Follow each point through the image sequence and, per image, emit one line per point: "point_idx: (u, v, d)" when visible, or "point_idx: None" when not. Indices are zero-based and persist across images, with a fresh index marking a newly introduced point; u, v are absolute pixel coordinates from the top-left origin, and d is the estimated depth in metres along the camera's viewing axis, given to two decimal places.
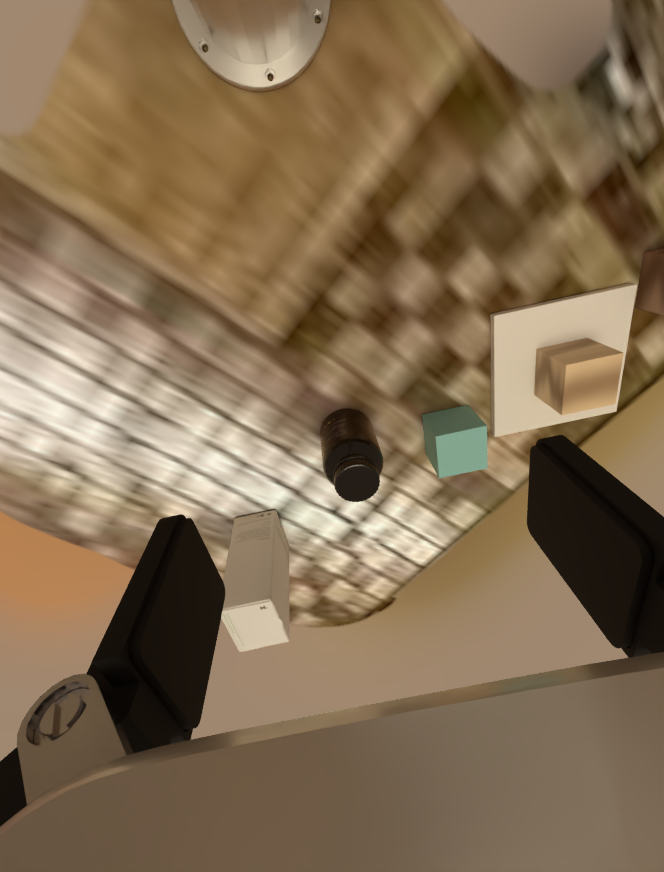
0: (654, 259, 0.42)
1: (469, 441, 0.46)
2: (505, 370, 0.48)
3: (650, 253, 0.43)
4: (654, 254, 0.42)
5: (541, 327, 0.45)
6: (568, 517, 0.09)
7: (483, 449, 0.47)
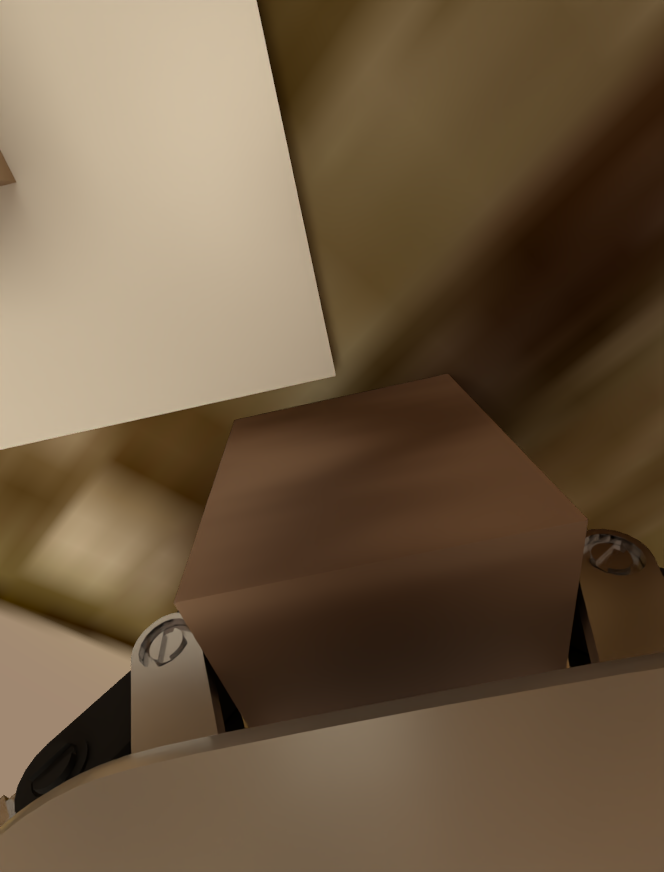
0: (445, 403, 0.09)
1: None
2: None
3: (457, 389, 0.10)
4: (465, 397, 0.09)
5: None
6: None
7: None
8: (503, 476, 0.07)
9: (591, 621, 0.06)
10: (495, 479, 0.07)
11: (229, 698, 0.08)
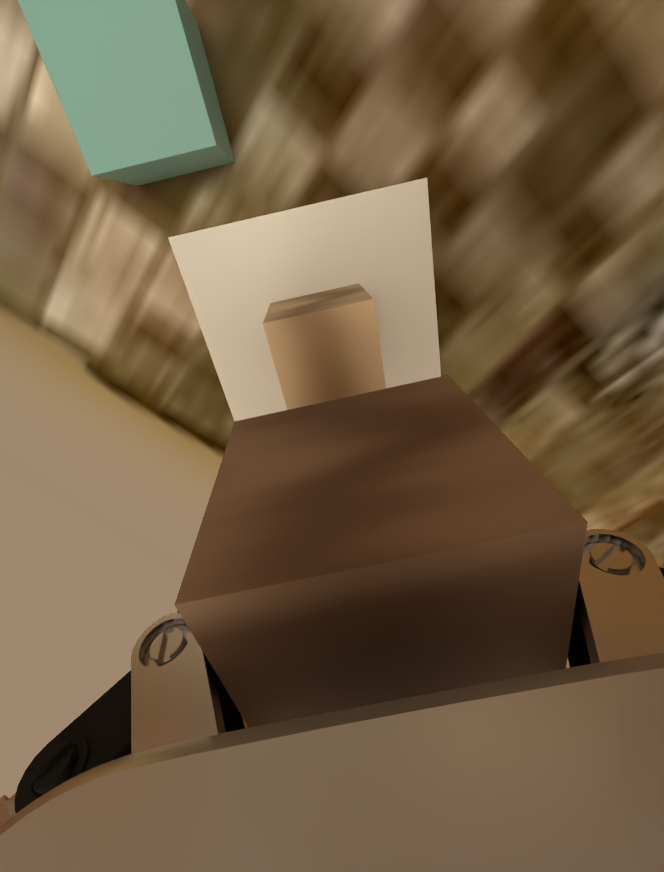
0: (445, 405, 0.09)
1: (162, 96, 0.17)
2: (318, 228, 0.24)
3: (457, 390, 0.10)
4: (465, 398, 0.09)
5: (396, 282, 0.26)
6: None
7: (145, 149, 0.18)
8: (503, 478, 0.07)
9: (591, 621, 0.06)
10: (495, 481, 0.07)
11: (229, 698, 0.08)
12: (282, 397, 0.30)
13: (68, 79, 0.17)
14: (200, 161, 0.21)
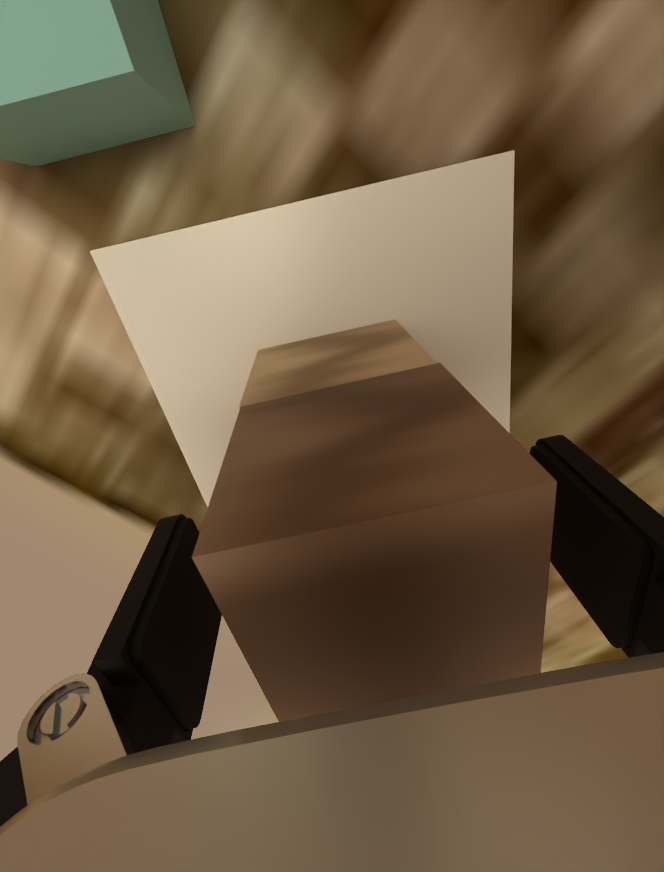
0: (437, 388, 0.10)
1: None
2: (334, 235, 0.15)
3: None
4: (455, 382, 0.10)
5: (452, 317, 0.17)
6: (568, 517, 0.09)
7: None
8: (485, 448, 0.07)
9: None
10: (478, 451, 0.07)
11: None
12: None
13: None
14: (125, 117, 0.12)
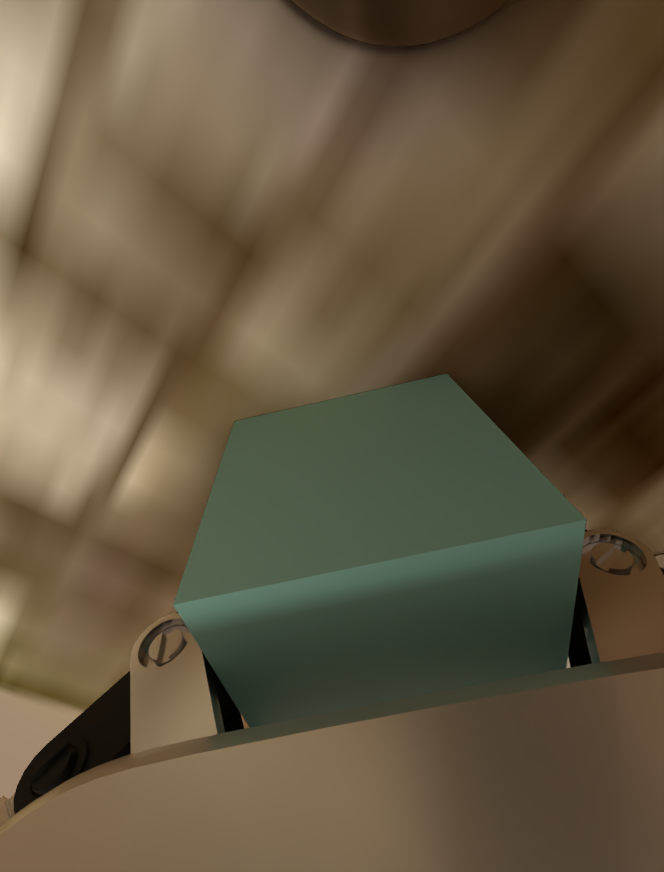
0: None
1: None
2: None
3: None
4: None
5: None
6: None
7: None
8: None
9: (592, 621, 0.06)
10: None
11: (228, 698, 0.08)
12: None
13: (271, 693, 0.07)
14: None
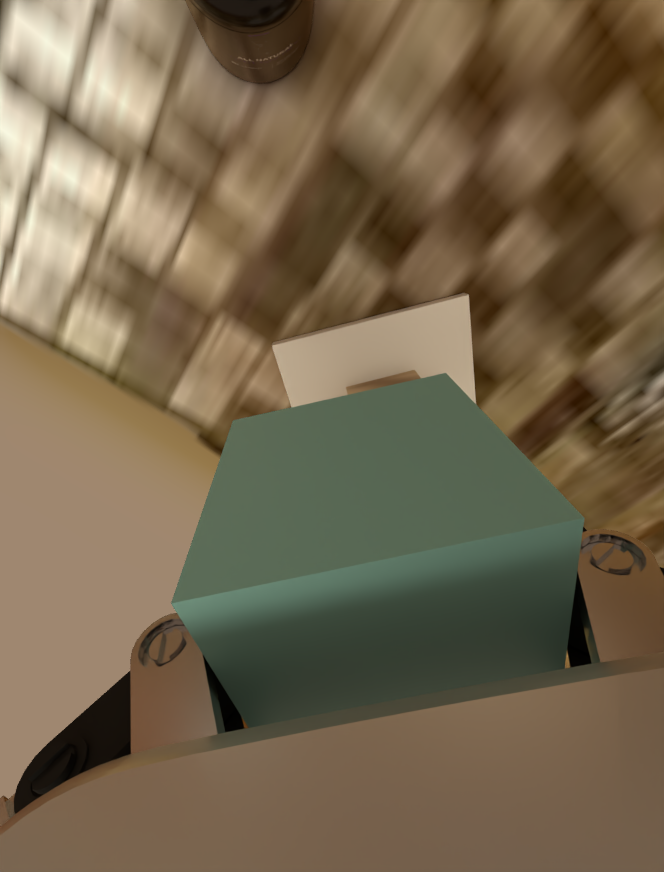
0: None
1: None
2: (385, 333, 0.32)
3: None
4: None
5: (443, 367, 0.34)
6: None
7: None
8: None
9: (591, 621, 0.06)
10: None
11: (228, 698, 0.08)
12: None
13: (269, 692, 0.07)
14: None
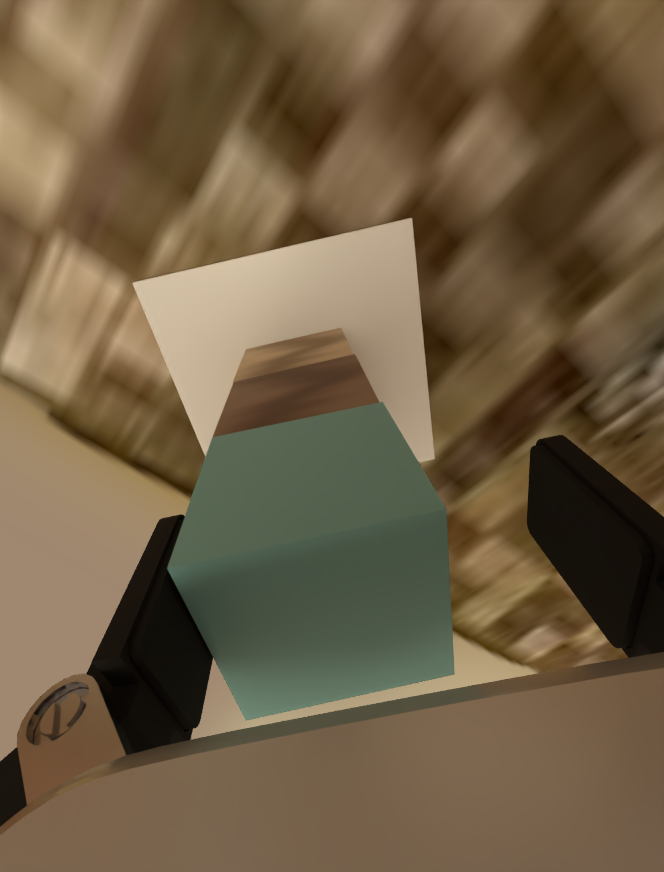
0: (347, 367, 0.17)
1: (387, 641, 0.10)
2: (296, 271, 0.23)
3: (356, 361, 0.18)
4: (357, 364, 0.18)
5: (381, 326, 0.24)
6: (568, 517, 0.09)
7: (342, 689, 0.11)
8: (356, 392, 0.15)
9: None
10: (353, 393, 0.15)
11: None
12: None
13: (236, 640, 0.10)
14: None
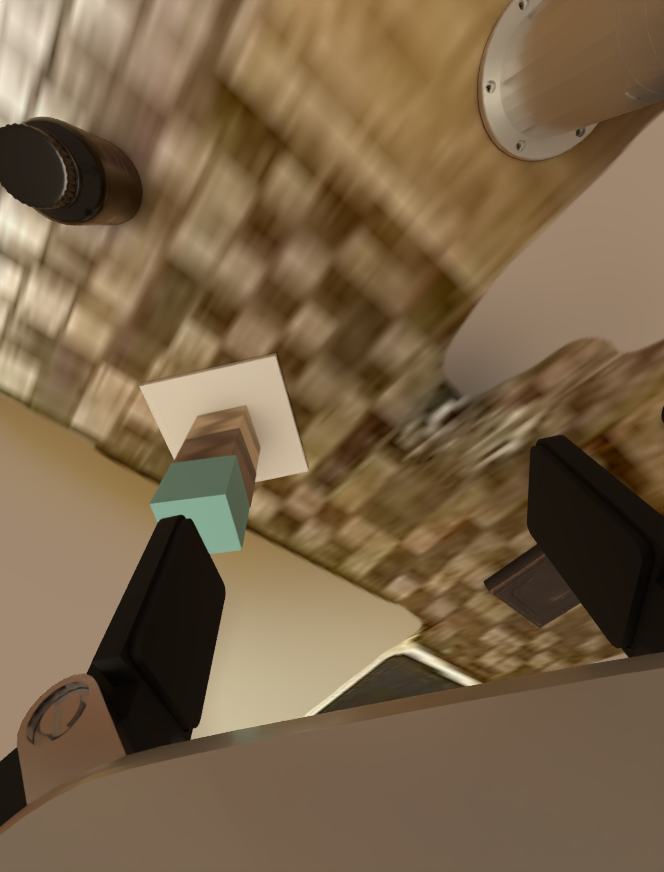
0: (231, 436, 0.40)
1: (216, 534, 0.33)
2: (220, 380, 0.45)
3: (238, 432, 0.41)
4: (236, 434, 0.40)
5: (267, 404, 0.47)
6: (568, 517, 0.09)
7: None
8: (226, 451, 0.38)
9: None
10: (225, 452, 0.38)
11: None
12: None
13: None
14: None
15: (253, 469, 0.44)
